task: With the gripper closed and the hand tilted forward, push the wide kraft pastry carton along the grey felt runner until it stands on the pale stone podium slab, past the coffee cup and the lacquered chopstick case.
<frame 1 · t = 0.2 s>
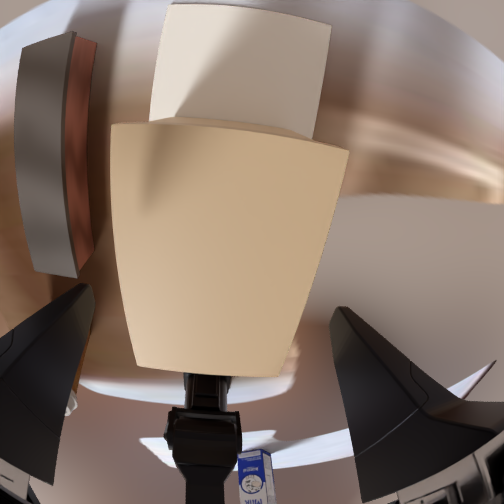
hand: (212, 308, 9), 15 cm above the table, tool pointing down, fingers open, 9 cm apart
kraft carton: (220, 204, 22), resting on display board
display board: (228, 144, 20), on the table
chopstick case: (65, 152, 19), on the table
milk carton: (254, 453, 57), on the table
disposable coffee cup: (71, 322, 29), on the table
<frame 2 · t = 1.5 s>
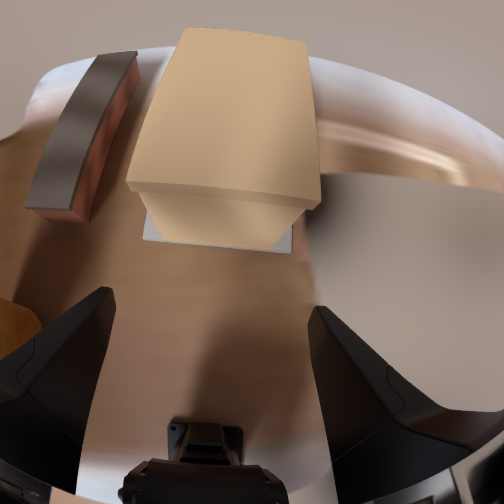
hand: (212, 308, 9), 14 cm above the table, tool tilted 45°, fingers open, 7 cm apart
kraft carton: (224, 173, 25), resting on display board
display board: (229, 135, 26), on the table
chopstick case: (94, 137, 24), on the table
disposable coffee cup: (25, 337, 18), on the table
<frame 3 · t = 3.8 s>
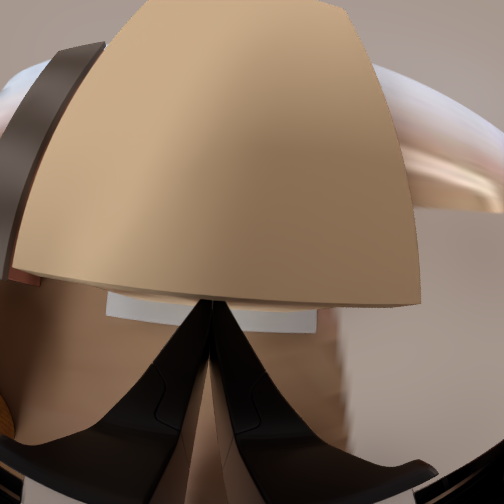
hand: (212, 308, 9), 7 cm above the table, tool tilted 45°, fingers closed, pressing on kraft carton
kraft carton: (221, 197, 17), point 1 cm above the table, touching gripper
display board: (226, 154, 19), on the table
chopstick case: (49, 160, 17), on the table
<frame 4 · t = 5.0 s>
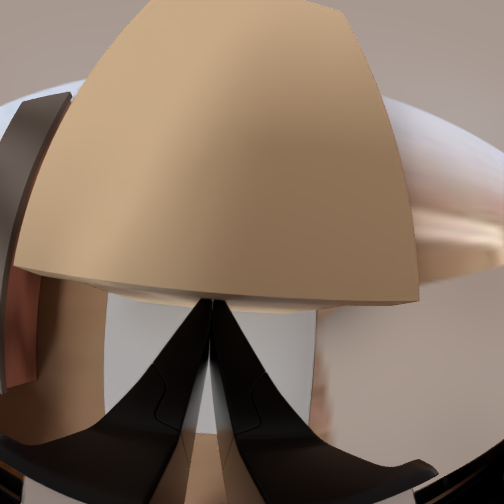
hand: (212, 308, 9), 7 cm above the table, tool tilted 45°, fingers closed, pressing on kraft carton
kraft carton: (220, 199, 17), resting on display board, touching gripper
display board: (216, 245, 17), on the table
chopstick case: (25, 240, 15), on the table
disposable coffee cup: (8, 470, 9), on the table
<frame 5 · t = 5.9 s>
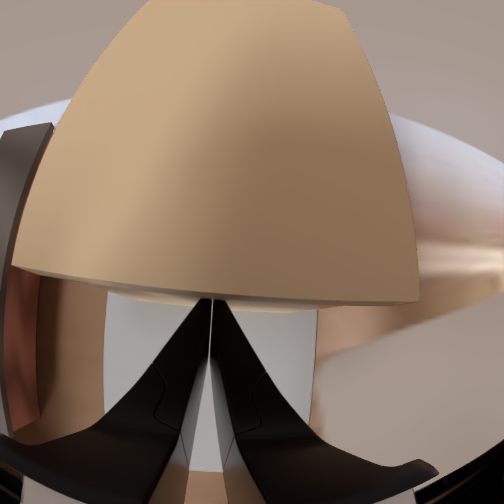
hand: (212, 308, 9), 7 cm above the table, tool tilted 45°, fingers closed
kraft carton: (221, 198, 17), resting on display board
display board: (212, 294, 16), on the table
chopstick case: (17, 280, 14), on the table
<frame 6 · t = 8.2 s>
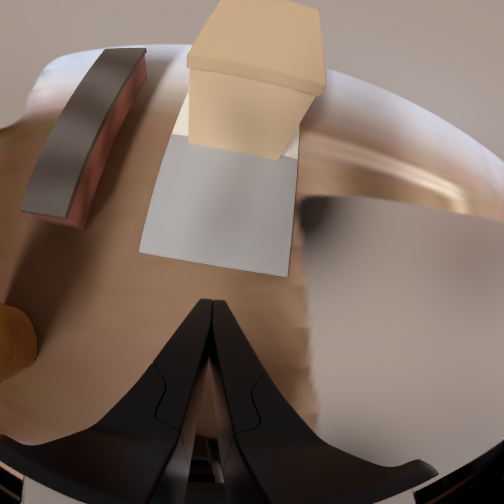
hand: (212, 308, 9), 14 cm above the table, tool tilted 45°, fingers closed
kraft carton: (243, 102, 27), resting on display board
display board: (234, 147, 26), on the table
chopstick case: (95, 137, 23), on the table
disposable coffee cup: (17, 338, 18), on the table
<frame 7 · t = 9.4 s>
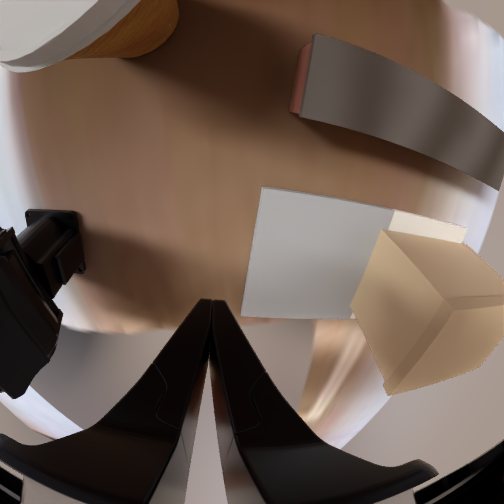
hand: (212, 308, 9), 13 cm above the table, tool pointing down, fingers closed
kraft carton: (415, 273, 26), resting on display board
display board: (369, 268, 25), on the table
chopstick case: (407, 116, 18), on the table
disposable coffee cup: (138, 22, 13), on the table
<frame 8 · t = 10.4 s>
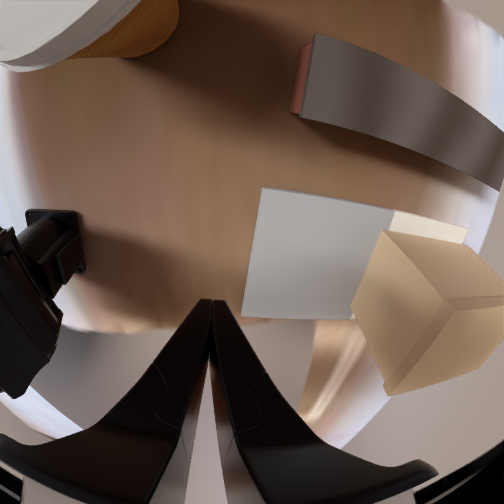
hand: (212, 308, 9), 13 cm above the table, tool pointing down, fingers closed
kraft carton: (415, 274, 26), resting on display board
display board: (369, 268, 25), on the table
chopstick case: (408, 116, 17), on the table
disposable coffee cup: (138, 22, 13), on the table
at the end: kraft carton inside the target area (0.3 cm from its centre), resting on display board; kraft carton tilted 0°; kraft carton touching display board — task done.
